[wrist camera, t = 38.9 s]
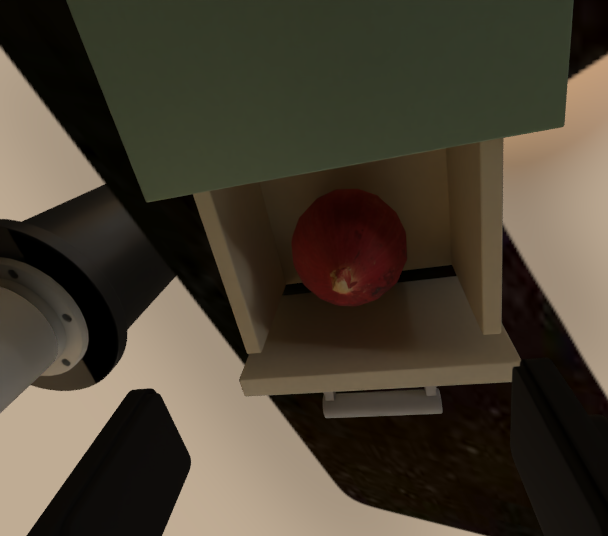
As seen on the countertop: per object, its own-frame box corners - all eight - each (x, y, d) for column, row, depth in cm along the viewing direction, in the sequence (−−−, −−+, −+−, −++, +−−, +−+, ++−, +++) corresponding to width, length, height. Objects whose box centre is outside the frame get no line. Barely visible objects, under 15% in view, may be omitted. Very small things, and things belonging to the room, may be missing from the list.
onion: (422, 220, 22) (448, 290, 15) (353, 282, 25) (348, 367, 18) (348, 151, 21) (340, 193, 14) (283, 224, 24) (249, 290, 17)
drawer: (477, 349, 27) (518, 454, 20) (291, 363, 30) (267, 459, 23) (470, 33, 19) (537, 12, 12) (215, 94, 22) (139, 108, 15)
